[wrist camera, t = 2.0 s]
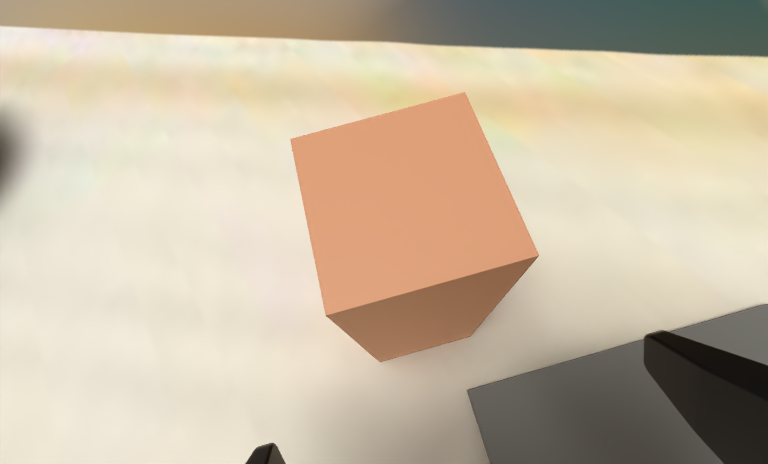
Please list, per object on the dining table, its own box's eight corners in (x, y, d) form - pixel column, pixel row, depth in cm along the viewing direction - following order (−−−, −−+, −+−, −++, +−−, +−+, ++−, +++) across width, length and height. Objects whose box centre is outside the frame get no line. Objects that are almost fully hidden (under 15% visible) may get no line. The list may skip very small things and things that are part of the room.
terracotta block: (470, 336, 21) (539, 255, 9) (379, 362, 21) (325, 315, 9) (440, 251, 23) (465, 91, 11) (358, 274, 23) (290, 139, 11)
